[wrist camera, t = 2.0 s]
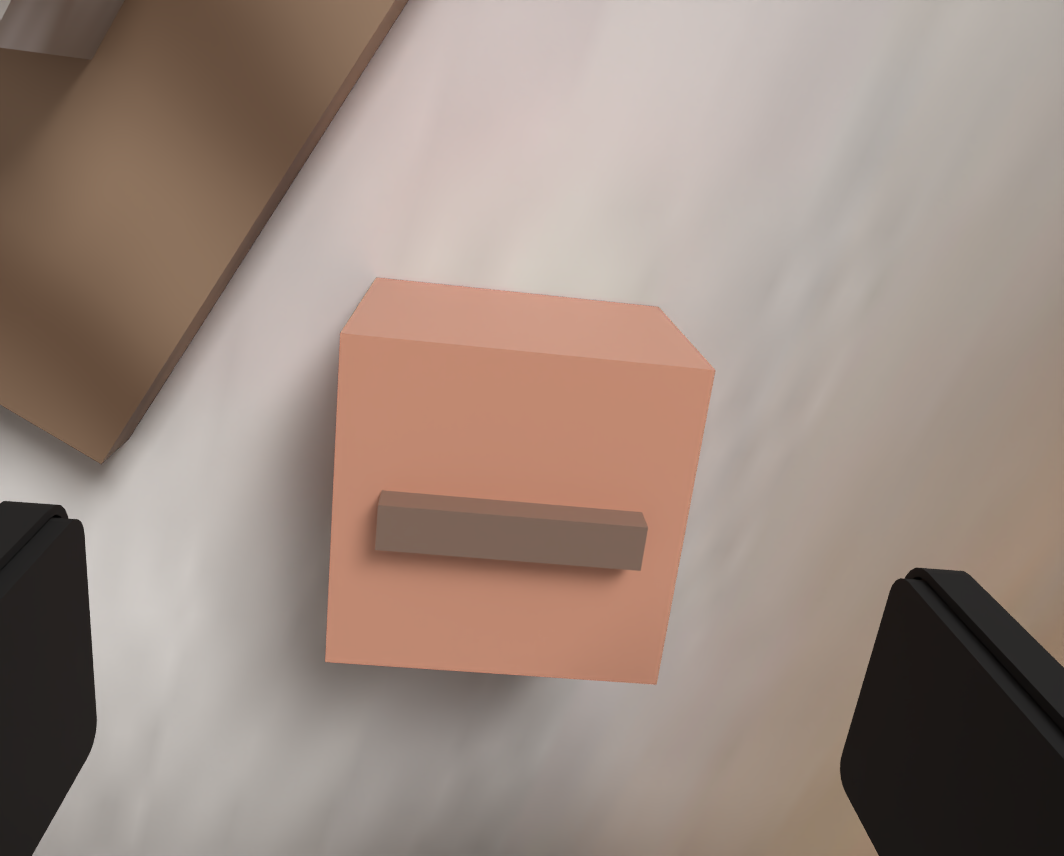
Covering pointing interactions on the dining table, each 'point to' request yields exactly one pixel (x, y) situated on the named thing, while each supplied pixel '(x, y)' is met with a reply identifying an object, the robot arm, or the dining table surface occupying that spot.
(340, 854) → the dining table surface
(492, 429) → the salmon pink cube
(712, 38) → the dining table surface
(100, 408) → the base
